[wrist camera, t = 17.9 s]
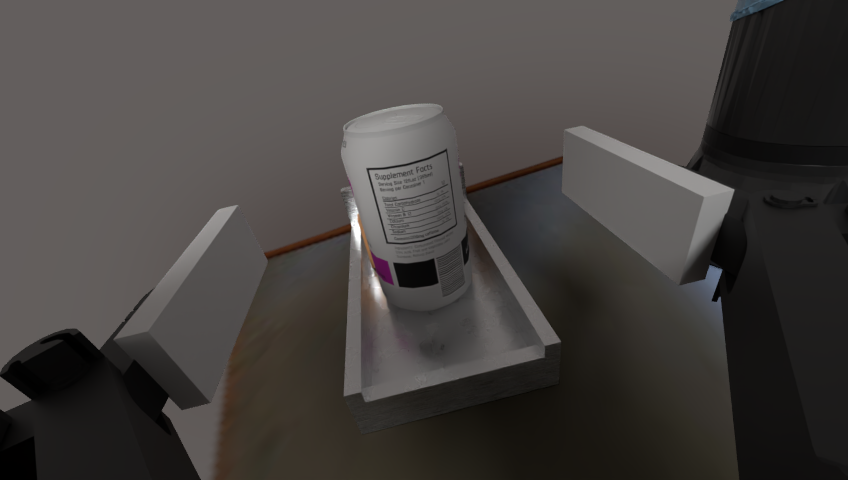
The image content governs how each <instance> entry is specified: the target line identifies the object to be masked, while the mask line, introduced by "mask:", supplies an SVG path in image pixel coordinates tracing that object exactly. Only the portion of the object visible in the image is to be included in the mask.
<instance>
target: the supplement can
mask: <svg viewBox="0 0 848 480" xmlns="http://www.w3.org/2000/svg"><path fill="white" fill-rule="evenodd" d="M343 130H344V138H343V143H342V149H341V156H342V160H343V163H344V166H345V170H346V173H347V176H348V179H349V183H350V186H351V189H352V193H353V196H354V199H355V203H356V206H357V209H358V212H359V216H360V219H361V222H362V226H363V229H364V232H365V235H366V239H367V242H368V245H369V249H370V252H371V255H372V259H373V262H374V265H375V268H376V272H377V275H378V278H379V282H380V285H381V288H382V291H383V294H384V296H385V297H386V298H387V299H388V301H389V302H390V303H392V304H394V305H396V306H398V307H400V308H402V309H407V310H411V311H418V312H424V311H432V310H437V309H440V308H442V307H445V306H447V305H450V304H451V303H452V302H454V301H455V300H456V299H458V298H459V297H460V296H461V295H462V294H464V293H465V291H466V290H467V288H468V287H469V285H470V284H471V280H472V266H471V258H470V250H469V241H468V233H467V225H466V216H465V208H464V199H463V191H462V183H461V174H460V166H459V158H458V149H457V141H456V133H455V128H454V127H453V125H452V124H451V123H450V121H449V120H448V118H447V117H446V115H445V114H444V110H443V108H442V107H441V106H440V105H436V104H413V105H404V106H398V107H393V108H388V109H383V110H379V111H375V112H372V113H369V114H366V115H363V116H360V117H358V118H356V119H353V120H351V121H349V122H348V123H347V124H345V125H344V128H343Z"/></svg>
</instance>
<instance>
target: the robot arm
mask: <svg viewBox="0 0 848 480" xmlns="http://www.w3.org/2000/svg"><path fill="white" fill-rule="evenodd" d="M730 21H733V23H732V27H731V31H730V35H729V39H728V43H727V46H726V51H725V54H724V58H723V62H722V67H721V70H720V74H719V79H718V82H717V86H716V89H715V93H714V97H713V101H712V104H711V108H710V111H709V115H708V119H707V124H706V128H705V131H704V135H703V138H702V142H701V145H700V147H699V149H698V150H697V152H696V153H695V155H694V156H693V158H692V159H691V160H690V162H689V163H688V165H687V166H686V167H684V166H679V165H675V164H672V163H670V162H668V161H665V160H663V159H660V158H658V157H656V156H653V155H651V154H649V153H646V152H643V151H642V150H639V149H637V148H634V147H632V146H630V145H627V144H625V143H622V142H620V141H618V140H615V139H613V138H611V137H608V136H606V135H604V134H601V133H599V132H596V131H594V130H592V129H589V128H587V127H584V126H579V127H575V128H570V129H566V130H564V149H563V175H562V193H564V194H565V195H566V196H567V197H569V198H570V199H571V200H572V201H574V202H575V203H576V204H577V205H579V206H580V207H581V208H582V209H584V210H585V211H586V212H587V213H589V214H590V215H591V216H592V217H594V218H595V219H596V220H597V221H599V222H600V223H601V224H602V225H604V226H605V227H606V228H607V229H609V230H610V231H611V232H612V233H614V234H615V235H616V236H618V237H619V238H620V239H621V240H623V241H624V242H625V243H626V244H628V245H629V246H630V247H631V248H633V249H634V250H635V251H636V252H638V253H639V254H640V255H641V256H643V257H644V258H645V259H646V260H648V261H649V262H650V263H651V264H653V265H654V266H655V267H656V268H658V269H659V270H660V271H661V272H663V273H664V274H665V275H667V276H668V277H669V278H670V279H672V280H673V281H674V282H675V283H677V284H678V285H683V284H687V283H691V282H695V281H699V280H703V279H705V277H706V274H707V271H708V268H709V265H710V264H712V265H715V266H717V267H720V268H723V270H722V273H721V276H720V279H719V282H718V284H717V287H716V290H715V293H714V295H713V298H712V301H714V302H717V300H718V298H719V297H720V296H721V304H722V313H723V323H724V333H725V343H726V353H727V363H728V372H729V382H730V392H731V402H732V412H733V421H734V431H735V441H736V451H737V461H738V471H739V480H848V0H738V3H737V6H736V9H735V11H734V12H733V13H732V14H731V16H730ZM267 263H268V261H267V259H266V257H265V255H264V253H263V251H262V249H261V247H260V245H259V243H258V241H257V240H256V238H255V236H254V234H253V232H252V230H251V228H250V227H249V224H248V223H247V221H246V219H245V217H244V215H243V213H242V211H241V209H240V208H239V205H236V206H231V207H227V208H223V209H219V210H218V211H217V212H216V213H215V214H214V216H213V217H212V218H211V219H210V221H209V222H208V223H207V224H206V225H205V227H204V228H203V229H202V230H201V232H200V233H199V234H198V235H197V237H196V238H195V239H194V241H193V242H192V243H191V244H190V245H189V247H188V248H187V249H186V250H185V251H184V253H183V254H182V255H181V256H180V258H179V259H178V260H177V261H176V263H175V264H174V265H173V266H172V268H171V269H170V270H169V271H168V272H167V274H166V275H165V276H164V277H163V279H162V280H161V281H160V282H159V284H158V285H157V286H156V287H155V288H154V289H152V290H151V291H150V292H149V293H148V294H146V295H145V296H144V297H143V298H142V299H141V300H140V301H139V303H138V304H137V305H136V306H135V308H134V309H133V310H134V311H132V312H130V314H129V315H128V316H127V317H126V319H125V322H122V324H121V325H120V326H119V327H118V328H117V330H116V331H115V332H114V333H113V334H112V335H111V337H110V338H109V339H108V340H107V341H106V343H105V344H104V345H103V346H102V348H101V349H100V350H98V349H97V348H96V347H95V346H94V345H93V344H92V343H91V342H90V341H89V340H88V339H87V338H86V337H85V336H84V335H83V334H82V333H81V332H80V331H78V330H77V329H65V330H62V331H59V332H55V333H53V334H50V335H48V336H46V337H44V338H42V339H40V340H38V341H37V342H35V343H33V344H31V345H29V346H28V347H26V348H25V349H23V350H22V351H21V352H19V353H18V354H17V355H15V356H14V357H13V358H12V359H11V360H10V361H9V362H8V363H7V364H6V365H5V366H4V367H3V368H2V371H1V372H0V377H2V378H3V379H4V380H6V381H7V382H9V383H10V384H11V385H13V386H14V387H15V388H17V389H18V390H19V391H21V392H22V393H23V394H25V395H26V396H27V397H29V398H30V399H31V401H29V402H26V403H24V404H22V405H19V406H17V407H15V408H13V409H10V410H8V411H6V412H3V411H2V410H0V480H201V479H200V477H199V475H198V473H197V471H196V470H195V468H194V466H193V464H192V462H191V460H190V458H189V456H188V454H187V452H186V450H185V448H184V446H183V444H182V442H181V440H180V438H179V436H178V434H177V432H176V430H175V428H174V427H173V424H172V422H171V420H170V419H169V418H168V417H167V416H166V415H165V414H164V413H163V412H162V409H163V407H164V405H165V403H166V401H167V399H168V397H169V398H170V399H171V400H172V401H173V402H175V404H176V405H177V406H178V407H179V408H180V409H181V410H184V409H189V408H193V407H196V406H200V405H204V404H208V403H211V401H212V398H213V396H214V393H215V391H216V389H217V386H218V384H219V381H220V379H221V376H222V374H223V371H224V369H225V367H226V364H227V362H228V359H229V357H230V354H231V352H232V349H233V347H234V344H235V342H236V340H237V337H238V335H239V332H240V330H241V327H242V325H243V322H244V320H245V317H246V315H247V312H248V310H249V308H250V305H251V303H252V300H253V298H254V295H255V293H256V290H257V288H258V285H259V283H260V281H261V278H262V276H263V273H264V271H265V268H266V266H267Z"/></svg>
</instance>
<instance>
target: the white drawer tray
mask: <svg viewBox="0 0 848 480" xmlns="http://www.w3.org/2000/svg"><path fill="white" fill-rule="evenodd" d="M459 166H460V174H461V183H462V191H463V199H464V208H465V216H466V225H467V233H468V241H469V250H470V258H471V266H472V280H471V284H470V285H469V287H468V288H467V290H466V291H465V293H464V294H462V295H461V296H460V297H459V298H458V299H456V300H455V301H454V302H452V303H451V304H450V305H447V306H445V307H442V308H440V309H437V310H432V311H424V312H418V311H411V310H407V309H402V308H400V307H398V306H396V305H394V304H392V303H390V302H389V301H388V299H387V298H386V297H385V296H384V294H383V291H382V288H381V285H380V282H379V278H378V275H377V272H376V268H373V269H372V265H371V262H370V259H369V256H368V252H367V249H366V246H365V243H364V239H363V236H362V233H361V230H360V227H359V223H358V220H357V214H359V212H358V209H357V206H356V203H355V199H354V196H353V193H352V189H351V186H350V187H345V188H341V194H342V197H343V201H344V204H345V206H346V210H347V213H348V216H349V219H350V222H351V247H350V269H349V291H348V313H347V335H346V357H345V380H344V398H345V400H346V402H347V404H348V406H349V408H350V410H351V412H352V415H353V417H354V419H355V421H356V423H357V425H358V427H359V429H360V431H361V433H362V434H365V433H369V432H373V431H377V430H381V429H385V428H389V427H392V426H396V425H400V424H404V423H408V422H412V421H416V420H420V419H424V418H427V417H431V416H435V415H439V414H443V413H447V412H451V411H455V410H459V409H463V408H466V407H470V406H474V405H478V404H482V403H486V402H490V401H494V400H498V399H501V398H505V397H509V396H513V395H517V394H521V393H525V392H529V391H533V390H536V389H540V388H544V387H548V386H552V385H556V384H559V370H560V353H561V341H560V339H559V338H558V336H557V335H556V333H555V332H554V330H553V329H552V327H551V326H550V324H549V323H548V321H547V320H546V318H545V317H544V315H543V314H542V312H541V311H540V309H539V308H538V306H537V304H536V303H535V301H534V300H533V298H532V297H531V295H530V294H529V292H528V291H527V289H526V288H525V286H524V285H523V283H522V282H521V280H520V279H519V277H518V276H517V274H516V273H515V271H514V270H513V268H512V267H511V265H510V264H509V262H508V261H507V259H506V258H505V256H504V255H503V253H502V252H501V250H500V249H499V247H498V245H497V244H496V242H495V241H494V239H493V238H492V236H491V235H490V233H489V232H488V230H487V229H486V227H485V226H484V224H483V223H482V221H481V220H480V218H479V217H478V215H477V214H476V212H475V211H474V209H473V208H472V206H471V205H470V203H469V202H468V200H467V196H466V187H465V179H464V169H463V164H462V163H461V162H459Z"/></svg>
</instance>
